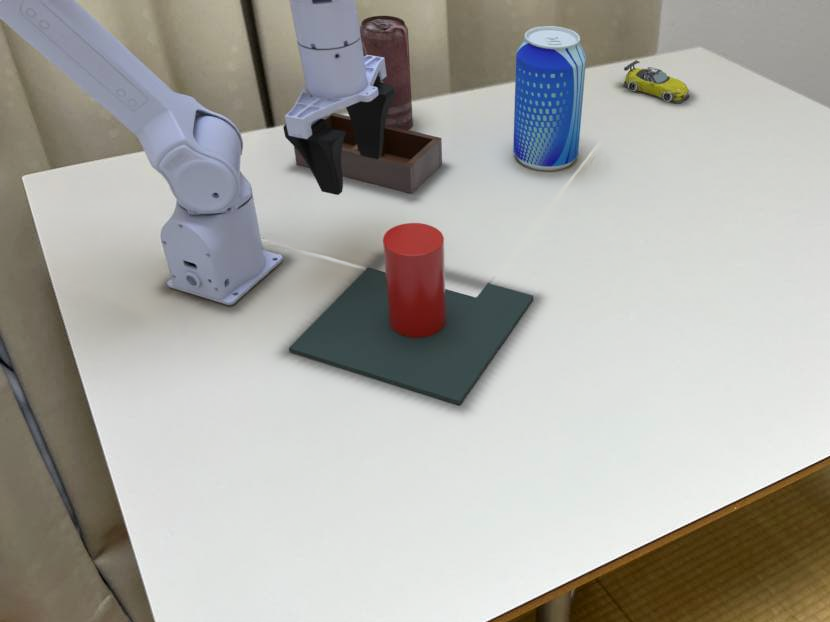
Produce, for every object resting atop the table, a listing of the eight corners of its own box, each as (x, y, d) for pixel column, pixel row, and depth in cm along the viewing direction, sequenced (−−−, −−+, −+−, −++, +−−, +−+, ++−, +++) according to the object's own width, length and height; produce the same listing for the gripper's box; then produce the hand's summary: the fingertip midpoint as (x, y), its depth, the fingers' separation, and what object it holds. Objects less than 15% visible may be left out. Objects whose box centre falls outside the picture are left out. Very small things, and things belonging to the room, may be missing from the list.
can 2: (430, 343, 86) (426, 261, 80) (379, 328, 87) (371, 246, 81) (455, 312, 90) (453, 231, 84) (406, 298, 91) (400, 217, 85)
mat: (459, 405, 81) (459, 401, 80) (289, 351, 85) (288, 347, 85) (533, 299, 93) (533, 295, 93) (381, 257, 97) (381, 253, 97)
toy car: (678, 106, 130) (681, 86, 128) (619, 87, 134) (621, 68, 132) (693, 94, 133) (696, 75, 131) (635, 77, 137) (637, 57, 135)
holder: (411, 198, 107) (409, 167, 104) (297, 168, 111) (292, 138, 108) (442, 168, 113) (441, 137, 110) (332, 141, 117) (329, 111, 114)
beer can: (501, 165, 114) (503, 39, 103) (531, 139, 120) (537, 18, 109) (559, 182, 112) (568, 55, 101) (588, 156, 117) (599, 33, 106)
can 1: (407, 141, 118) (401, 34, 108) (361, 135, 118) (351, 27, 109) (420, 122, 122) (416, 17, 113) (376, 115, 123) (368, 11, 113)
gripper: (323, 75, 74) (348, 216, 84) (406, 15, 84) (420, 148, 94) (253, 63, 76) (285, 202, 86) (342, 6, 86) (362, 136, 96)
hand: (352, 173), depth 90 cm, fingers open, 7 cm apart
